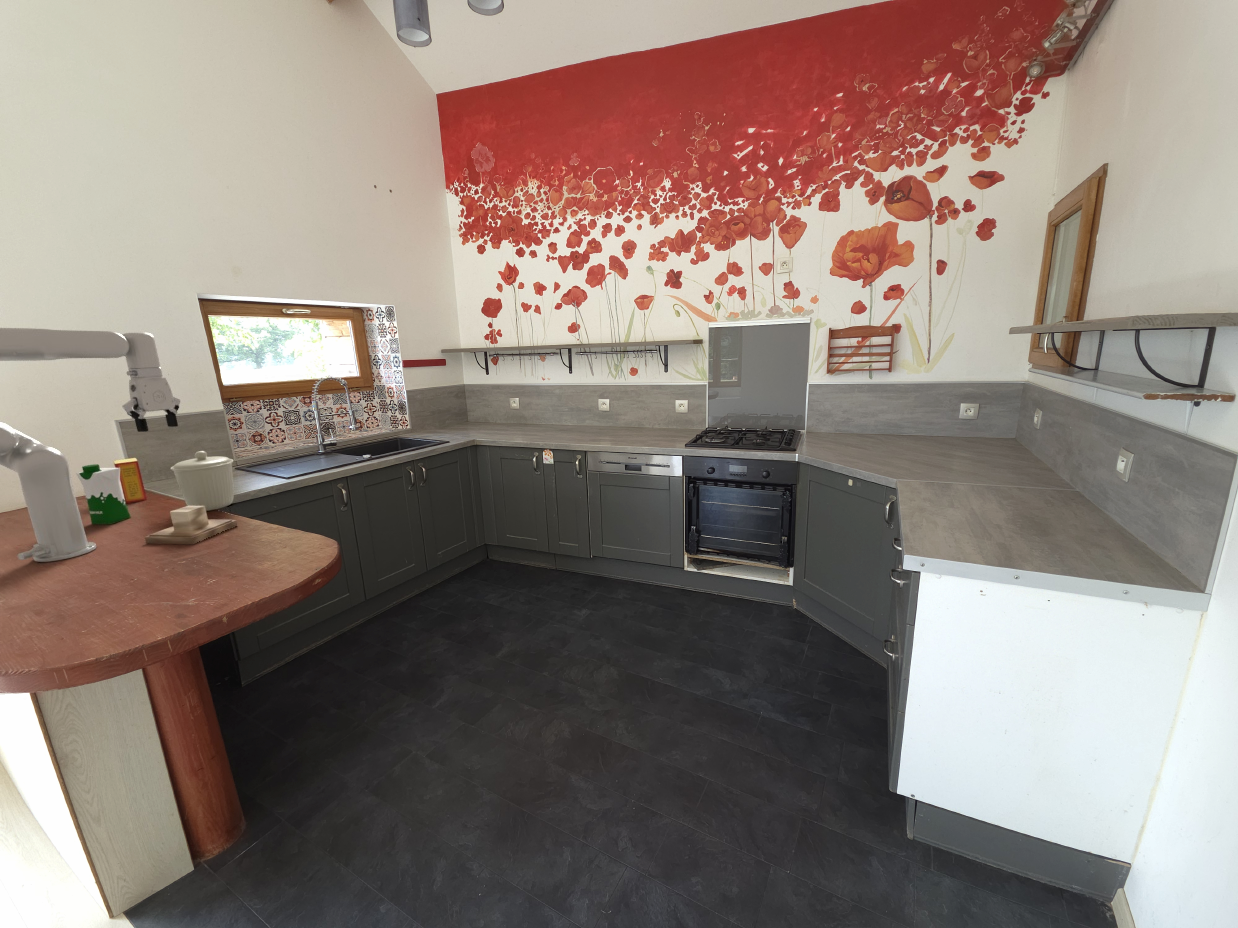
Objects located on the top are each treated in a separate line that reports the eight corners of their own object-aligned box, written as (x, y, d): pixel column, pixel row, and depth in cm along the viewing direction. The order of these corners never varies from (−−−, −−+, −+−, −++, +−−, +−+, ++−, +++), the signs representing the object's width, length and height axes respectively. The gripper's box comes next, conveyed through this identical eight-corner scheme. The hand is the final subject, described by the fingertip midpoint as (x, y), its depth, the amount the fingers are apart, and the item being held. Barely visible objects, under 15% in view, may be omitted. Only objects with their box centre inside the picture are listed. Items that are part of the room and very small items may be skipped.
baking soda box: (122, 499, 209) (112, 459, 206) (144, 495, 214) (135, 456, 210) (124, 503, 203) (114, 463, 199) (146, 499, 207) (137, 459, 204)
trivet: (193, 544, 156) (191, 536, 156) (146, 543, 159) (144, 535, 158) (237, 525, 172) (236, 518, 171) (194, 525, 174) (192, 518, 173)
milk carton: (86, 525, 178) (70, 467, 173) (113, 516, 186) (99, 461, 182) (109, 525, 177) (94, 467, 172) (136, 516, 185) (122, 461, 181)
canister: (209, 516, 183) (196, 456, 179) (167, 514, 187) (153, 456, 182) (253, 500, 201) (243, 446, 196) (214, 499, 204) (203, 446, 200)
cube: (191, 530, 161) (187, 511, 160) (174, 530, 162) (169, 511, 161) (208, 523, 167) (204, 505, 166) (191, 523, 168) (187, 505, 167)
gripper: (127, 375, 154) (141, 433, 157) (182, 372, 170) (193, 424, 174) (105, 376, 155) (119, 433, 158) (162, 372, 171) (173, 424, 175)
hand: (158, 429), depth 166 cm, fingers open, 9 cm apart
